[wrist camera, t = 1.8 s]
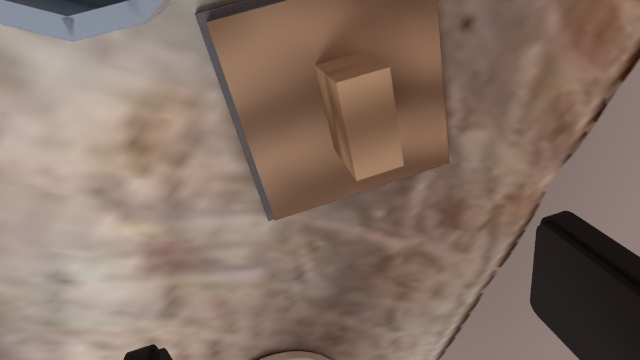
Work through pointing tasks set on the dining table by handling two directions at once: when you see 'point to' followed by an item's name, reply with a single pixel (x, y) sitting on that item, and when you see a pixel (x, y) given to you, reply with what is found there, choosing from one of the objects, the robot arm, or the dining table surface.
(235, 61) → the lid
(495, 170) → the dining table surface
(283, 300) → the dining table surface
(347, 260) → the dining table surface
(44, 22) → the bowl
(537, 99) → the dining table surface
